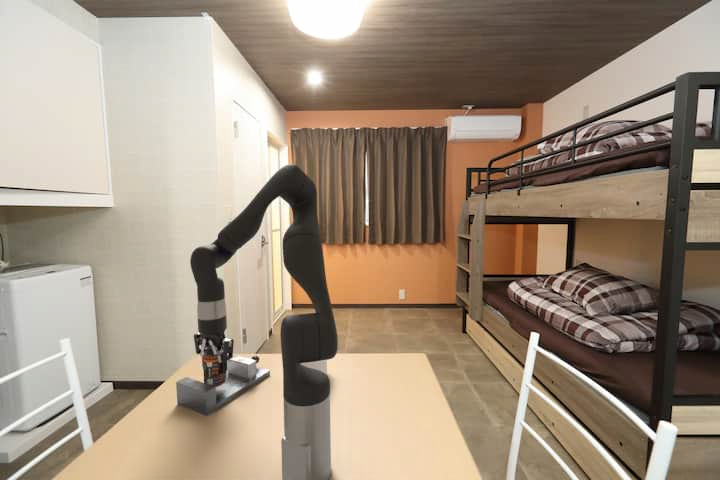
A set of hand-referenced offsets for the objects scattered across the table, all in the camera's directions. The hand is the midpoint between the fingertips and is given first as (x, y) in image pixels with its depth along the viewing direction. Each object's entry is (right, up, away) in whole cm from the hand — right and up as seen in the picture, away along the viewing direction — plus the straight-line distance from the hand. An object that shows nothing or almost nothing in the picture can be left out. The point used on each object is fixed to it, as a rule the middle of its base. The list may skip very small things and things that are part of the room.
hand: (214, 370), depth 94 cm
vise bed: (+2, -7, +4) cm, 9 cm away
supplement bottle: (0, -4, 0) cm, 4 cm away
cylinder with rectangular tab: (+27, -7, +12) cm, 30 cm away
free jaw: (+6, -5, +12) cm, 14 cm away
